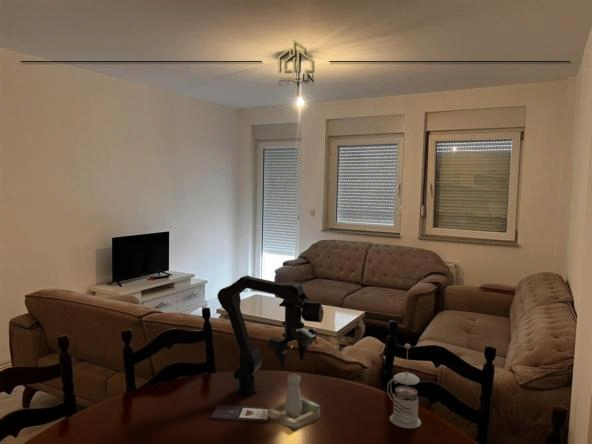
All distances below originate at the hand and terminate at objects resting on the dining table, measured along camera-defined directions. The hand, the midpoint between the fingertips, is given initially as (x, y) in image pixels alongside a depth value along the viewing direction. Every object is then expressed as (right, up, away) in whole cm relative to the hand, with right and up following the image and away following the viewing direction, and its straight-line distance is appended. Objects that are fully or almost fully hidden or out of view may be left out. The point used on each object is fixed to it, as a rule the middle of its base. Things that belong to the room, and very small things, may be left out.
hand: (292, 363), depth 149 cm
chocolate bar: (-17, -14, -10) cm, 24 cm away
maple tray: (+1, -14, -11) cm, 18 cm away
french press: (+36, -15, -11) cm, 40 cm away
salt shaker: (0, -13, -11) cm, 17 cm away
